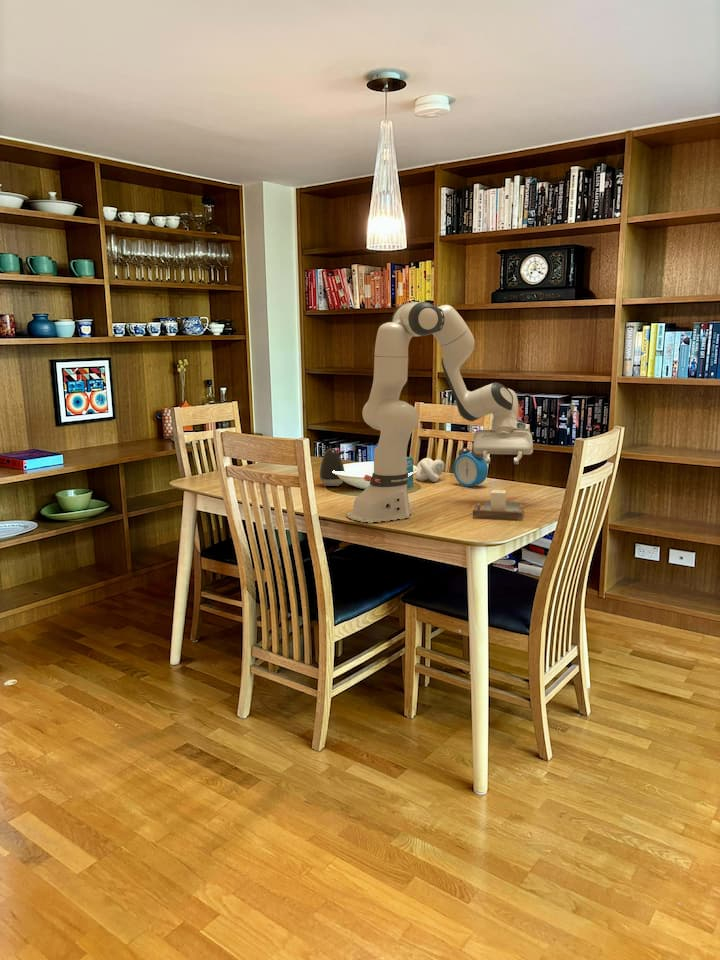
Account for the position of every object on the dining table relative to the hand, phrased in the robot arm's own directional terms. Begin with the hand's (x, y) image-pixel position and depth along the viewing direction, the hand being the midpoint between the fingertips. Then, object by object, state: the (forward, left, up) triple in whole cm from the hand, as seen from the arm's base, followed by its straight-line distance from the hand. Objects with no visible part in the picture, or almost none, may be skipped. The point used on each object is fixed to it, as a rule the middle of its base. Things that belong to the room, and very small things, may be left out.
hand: (501, 462), depth 250 cm
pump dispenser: (-22, +73, -17) cm, 78 cm away
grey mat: (0, 0, -17) cm, 17 cm away
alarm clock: (+20, +37, -17) cm, 45 cm away
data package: (-4, +51, -17) cm, 53 cm away
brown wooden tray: (-9, -7, -17) cm, 20 cm away
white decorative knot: (+14, +55, -17) cm, 59 cm away
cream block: (-10, -8, -15) cm, 20 cm away
